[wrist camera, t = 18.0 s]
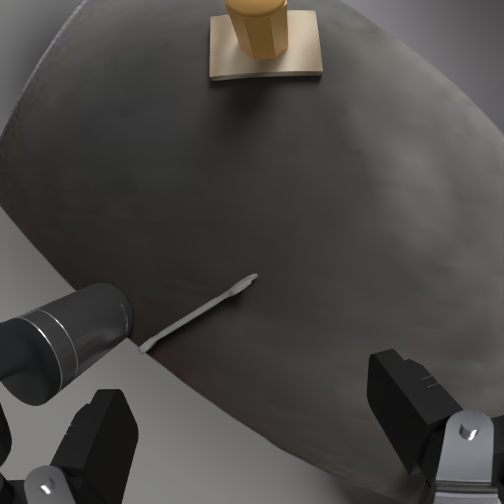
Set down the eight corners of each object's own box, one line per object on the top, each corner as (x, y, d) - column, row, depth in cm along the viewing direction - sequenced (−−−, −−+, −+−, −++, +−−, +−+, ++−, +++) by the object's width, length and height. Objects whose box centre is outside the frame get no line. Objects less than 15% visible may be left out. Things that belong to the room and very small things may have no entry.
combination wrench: (137, 358, 40) (258, 285, 36) (131, 351, 40) (252, 276, 36) (148, 348, 44) (262, 278, 40) (143, 340, 44) (256, 269, 40)
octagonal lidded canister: (240, 60, 35) (223, 14, 24) (241, 24, 34) (225, -25, 23) (289, 58, 34) (287, 11, 23) (286, 22, 33) (284, -29, 22)
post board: (212, 81, 37) (194, 53, 29) (213, 22, 36) (198, -11, 27) (321, 75, 35) (328, 45, 27) (314, 16, 34) (318, -19, 26)
